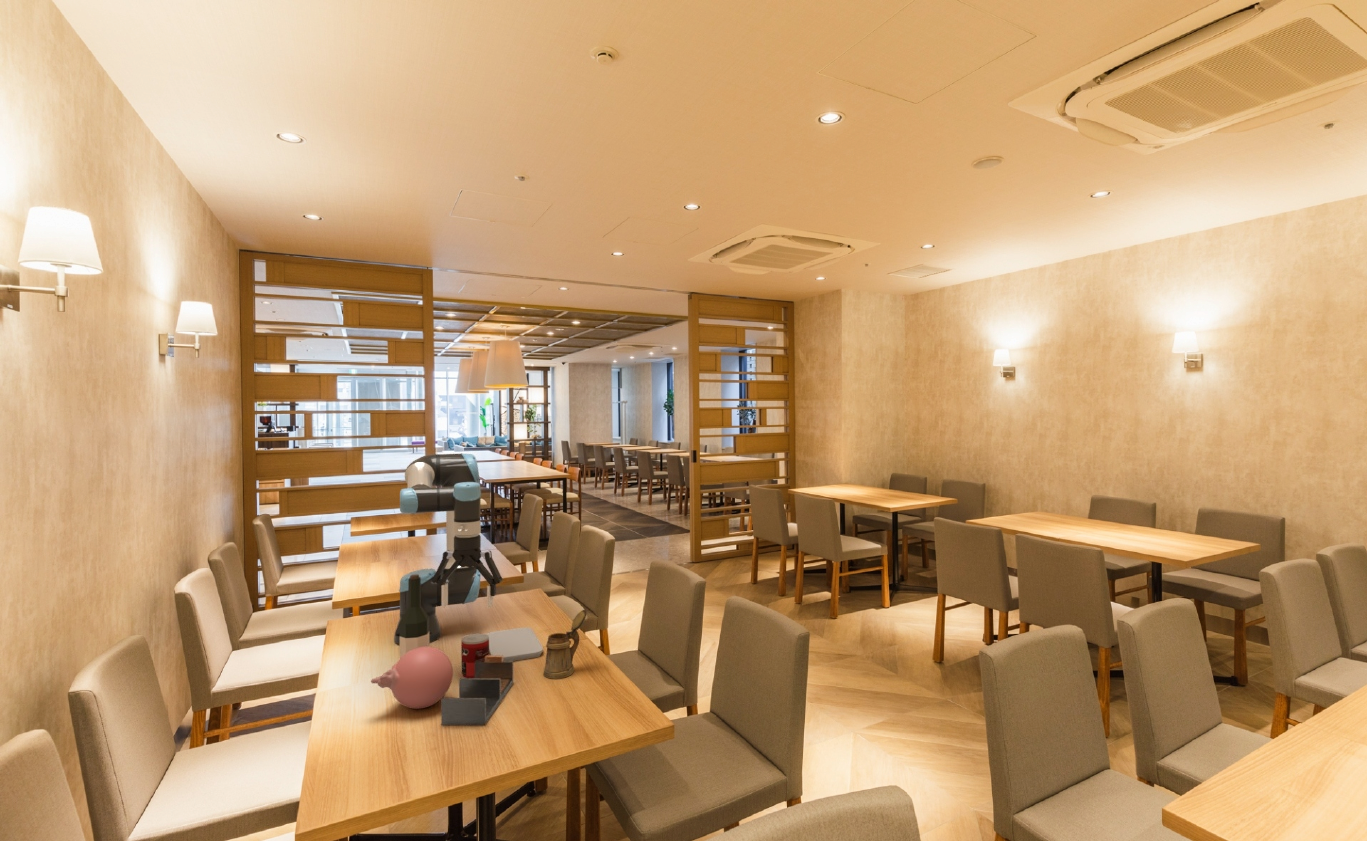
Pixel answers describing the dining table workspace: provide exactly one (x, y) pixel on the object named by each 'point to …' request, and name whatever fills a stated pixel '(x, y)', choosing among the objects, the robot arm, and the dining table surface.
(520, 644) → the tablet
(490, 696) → the rack
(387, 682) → the balloon
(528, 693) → the dining table surface
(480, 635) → the canned food
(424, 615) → the wine bottle
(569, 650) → the wooden mug
